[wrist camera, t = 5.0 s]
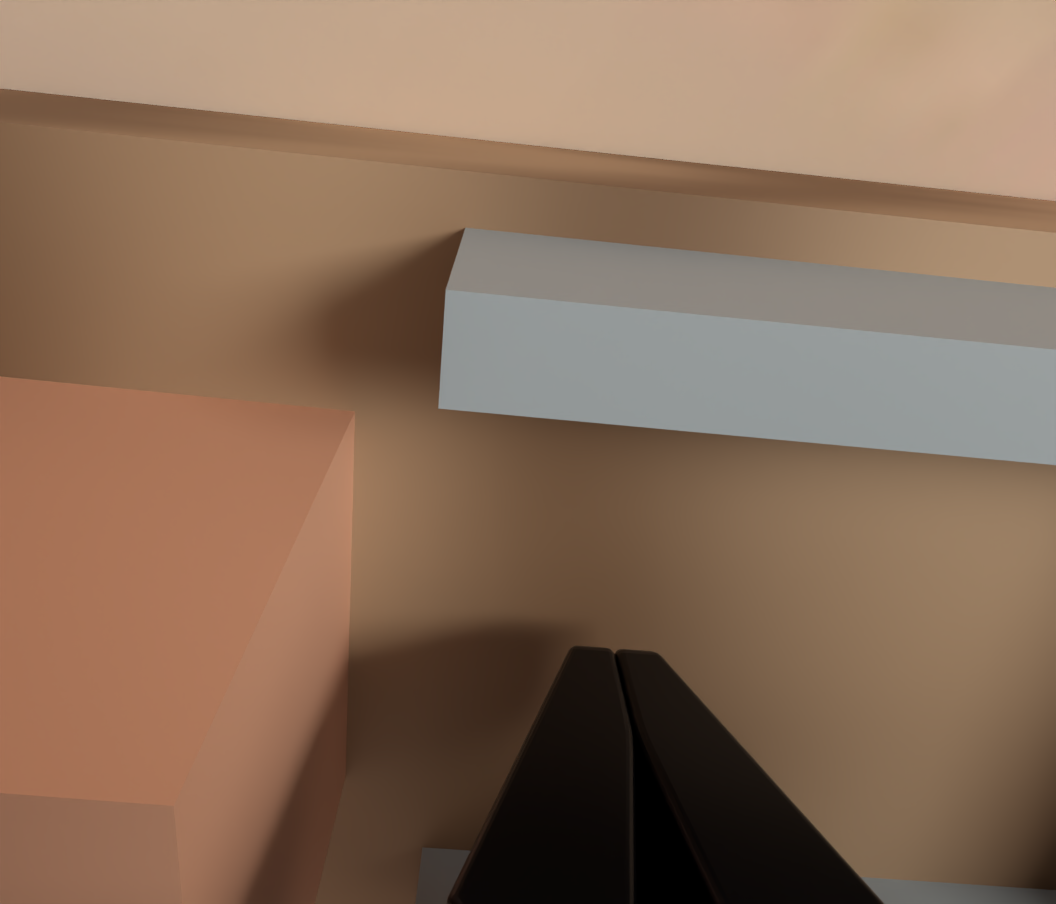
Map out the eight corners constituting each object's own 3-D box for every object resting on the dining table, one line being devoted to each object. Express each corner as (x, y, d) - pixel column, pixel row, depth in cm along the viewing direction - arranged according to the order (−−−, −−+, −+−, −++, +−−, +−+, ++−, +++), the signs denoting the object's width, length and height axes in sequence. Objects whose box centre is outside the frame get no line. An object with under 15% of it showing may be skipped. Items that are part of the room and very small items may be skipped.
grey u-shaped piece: (1488, 331, 8) (1790, 422, 6) (1123, 939, 11) (1240, 1114, 9) (465, 227, 7) (445, 289, 5) (418, 892, 11) (397, 1067, 9)
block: (355, 411, 8) (175, 804, 4) (346, 775, 10) (219, 1298, 6) (-155, 361, 8) (-932, 723, 4) (-63, 744, 10) (-500, 1266, 5)
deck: (1285, 225, 10) (1518, 281, 7) (1011, 807, 13) (1109, 962, 11) (-552, 29, 9) (-929, 23, 6) (-286, 714, 13) (-463, 862, 10)
